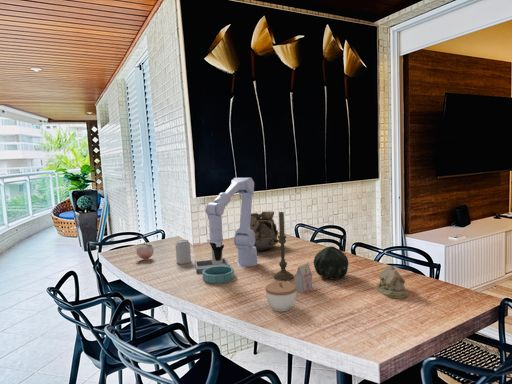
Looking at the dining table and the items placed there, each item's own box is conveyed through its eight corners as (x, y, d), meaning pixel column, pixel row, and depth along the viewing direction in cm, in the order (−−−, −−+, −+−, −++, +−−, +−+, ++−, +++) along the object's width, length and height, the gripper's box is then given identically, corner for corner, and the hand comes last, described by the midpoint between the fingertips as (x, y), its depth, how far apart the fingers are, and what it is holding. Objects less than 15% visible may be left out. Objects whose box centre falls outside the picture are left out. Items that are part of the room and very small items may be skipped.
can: (187, 265, 184) (186, 242, 183) (174, 265, 186) (172, 242, 184) (193, 261, 191) (191, 239, 190) (180, 260, 193) (178, 239, 192)
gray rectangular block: (221, 261, 164) (220, 248, 163) (222, 263, 160) (222, 250, 159) (211, 262, 162) (210, 249, 162) (212, 264, 159) (211, 251, 158)
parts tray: (225, 262, 186) (225, 258, 185) (230, 270, 172) (229, 265, 172) (194, 266, 182) (194, 261, 182) (197, 274, 168) (196, 269, 168)
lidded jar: (264, 303, 132) (263, 278, 131) (293, 300, 133) (292, 276, 132) (268, 315, 121) (267, 288, 120) (299, 313, 122) (298, 286, 121)
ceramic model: (371, 286, 145) (371, 262, 144) (399, 284, 145) (398, 260, 144) (386, 299, 131) (385, 273, 130) (416, 298, 131) (416, 271, 130)
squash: (329, 256, 169) (317, 237, 161) (358, 263, 159) (346, 243, 150) (316, 282, 163) (302, 263, 155) (345, 291, 152) (332, 271, 144)
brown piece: (256, 242, 229) (254, 209, 227) (288, 246, 215) (287, 210, 213) (231, 251, 208) (229, 215, 207) (264, 256, 195) (263, 217, 193)
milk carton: (295, 290, 143) (294, 266, 142) (304, 286, 148) (304, 262, 147) (302, 293, 140) (302, 268, 139) (312, 288, 145) (311, 263, 144)
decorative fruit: (157, 257, 202) (155, 240, 201) (151, 261, 194) (150, 243, 193) (141, 257, 203) (139, 240, 202) (134, 261, 195) (133, 243, 194)
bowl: (231, 271, 170) (230, 264, 170) (236, 281, 157) (236, 273, 156) (201, 275, 167) (201, 267, 167) (204, 285, 153) (204, 277, 153)
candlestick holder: (295, 274, 162) (293, 209, 160) (291, 281, 154) (288, 212, 151) (276, 273, 165) (274, 209, 163) (270, 279, 157) (268, 212, 154)
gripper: (205, 227, 166) (206, 255, 167) (208, 233, 152) (210, 264, 153) (220, 225, 167) (221, 254, 169) (225, 231, 153) (226, 262, 155)
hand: (217, 259), depth 161 cm, fingers closed on gray rectangular block, 4 cm apart
